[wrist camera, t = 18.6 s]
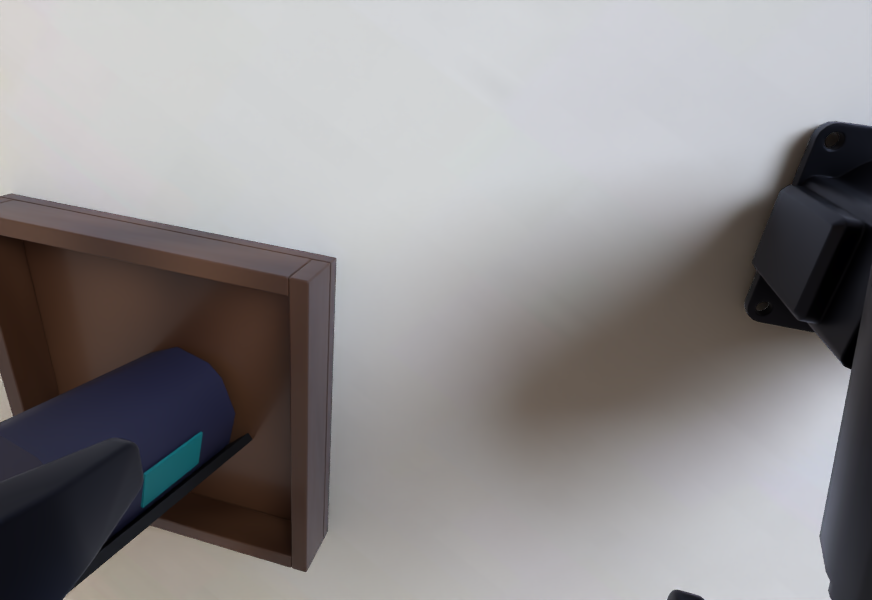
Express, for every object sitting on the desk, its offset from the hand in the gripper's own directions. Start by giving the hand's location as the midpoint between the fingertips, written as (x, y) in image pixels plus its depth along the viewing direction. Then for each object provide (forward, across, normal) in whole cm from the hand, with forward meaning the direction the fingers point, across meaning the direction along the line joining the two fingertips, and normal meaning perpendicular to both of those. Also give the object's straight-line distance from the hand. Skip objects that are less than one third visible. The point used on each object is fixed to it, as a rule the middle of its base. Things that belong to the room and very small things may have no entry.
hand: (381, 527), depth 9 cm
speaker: (+13, +14, +10) cm, 21 cm away
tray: (+13, +14, +9) cm, 21 cm away
